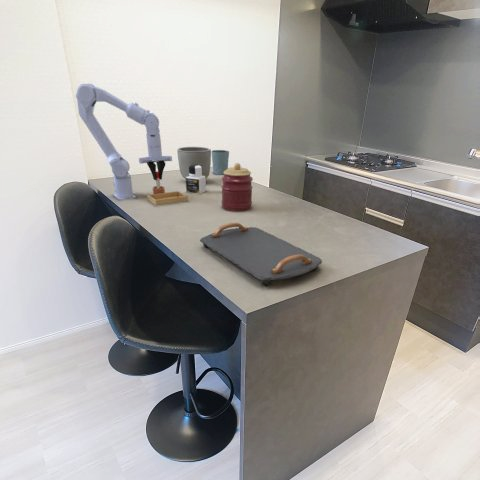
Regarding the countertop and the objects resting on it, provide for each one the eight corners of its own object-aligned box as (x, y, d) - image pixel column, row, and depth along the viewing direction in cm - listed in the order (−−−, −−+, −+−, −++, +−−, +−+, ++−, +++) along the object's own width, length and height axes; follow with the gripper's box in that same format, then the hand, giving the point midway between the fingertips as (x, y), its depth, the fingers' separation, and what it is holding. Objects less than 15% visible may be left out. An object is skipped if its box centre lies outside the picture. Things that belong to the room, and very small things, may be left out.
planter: (194, 176, 199) (192, 145, 190) (218, 181, 191) (217, 149, 182) (172, 182, 187) (169, 149, 178) (196, 187, 179) (195, 153, 170)
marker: (156, 190, 162) (154, 171, 157) (160, 189, 163) (158, 171, 158) (157, 191, 160) (155, 172, 156) (161, 190, 161) (159, 172, 157)
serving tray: (194, 244, 116) (193, 226, 112) (250, 232, 127) (251, 214, 124) (267, 293, 90) (269, 271, 86) (330, 272, 101) (334, 252, 97)
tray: (147, 200, 157) (147, 195, 156) (178, 196, 164) (178, 191, 163) (156, 206, 150) (155, 200, 149) (188, 201, 157) (187, 196, 156)
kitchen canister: (257, 207, 152) (260, 163, 143) (237, 213, 145) (238, 167, 135) (236, 201, 160) (236, 159, 150) (215, 206, 152) (214, 162, 142)
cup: (152, 196, 164) (150, 186, 161) (162, 194, 166) (161, 185, 164) (156, 198, 160) (155, 189, 158) (167, 197, 162) (166, 188, 160)
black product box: (186, 192, 170) (184, 166, 164) (193, 189, 176) (192, 163, 169) (199, 194, 168) (198, 167, 161) (206, 191, 174) (205, 164, 167)
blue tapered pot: (210, 174, 205) (209, 151, 199) (214, 171, 214) (213, 149, 207) (227, 175, 204) (227, 152, 197) (230, 172, 212) (230, 150, 206)
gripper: (141, 148, 145) (145, 182, 153) (173, 146, 152) (176, 179, 159) (135, 146, 150) (139, 179, 158) (167, 144, 157) (170, 176, 164)
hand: (157, 179), depth 159 cm, fingers closed on marker, 2 cm apart
